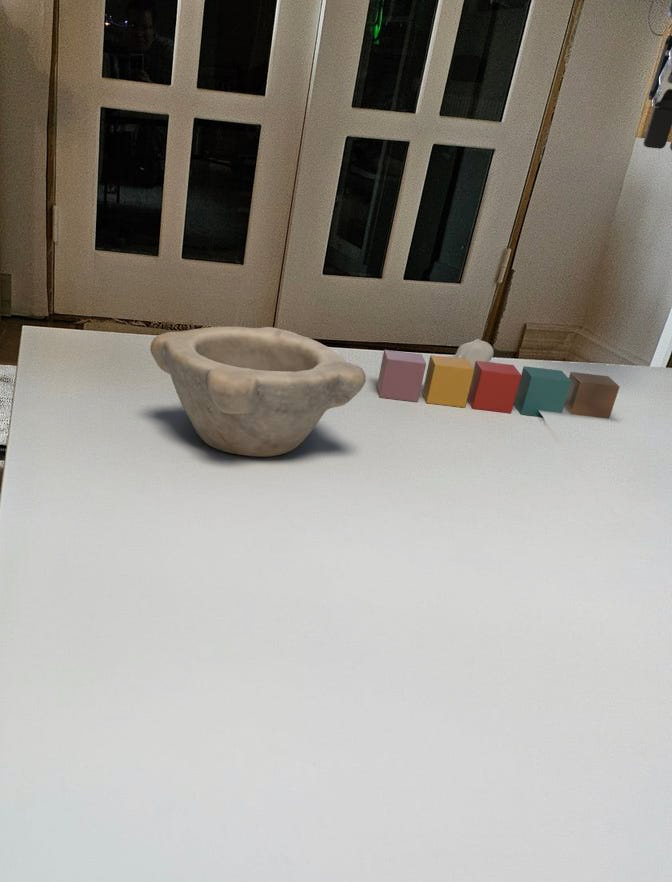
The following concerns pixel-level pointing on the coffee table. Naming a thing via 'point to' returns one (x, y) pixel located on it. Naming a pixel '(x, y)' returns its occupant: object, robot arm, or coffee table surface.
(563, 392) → the block
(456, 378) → the block
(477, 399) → the red block
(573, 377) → the block
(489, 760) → the coffee table surface
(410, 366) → the block
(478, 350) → the pale two-lobed sculpture
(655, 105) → the robot arm
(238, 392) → the mortar
